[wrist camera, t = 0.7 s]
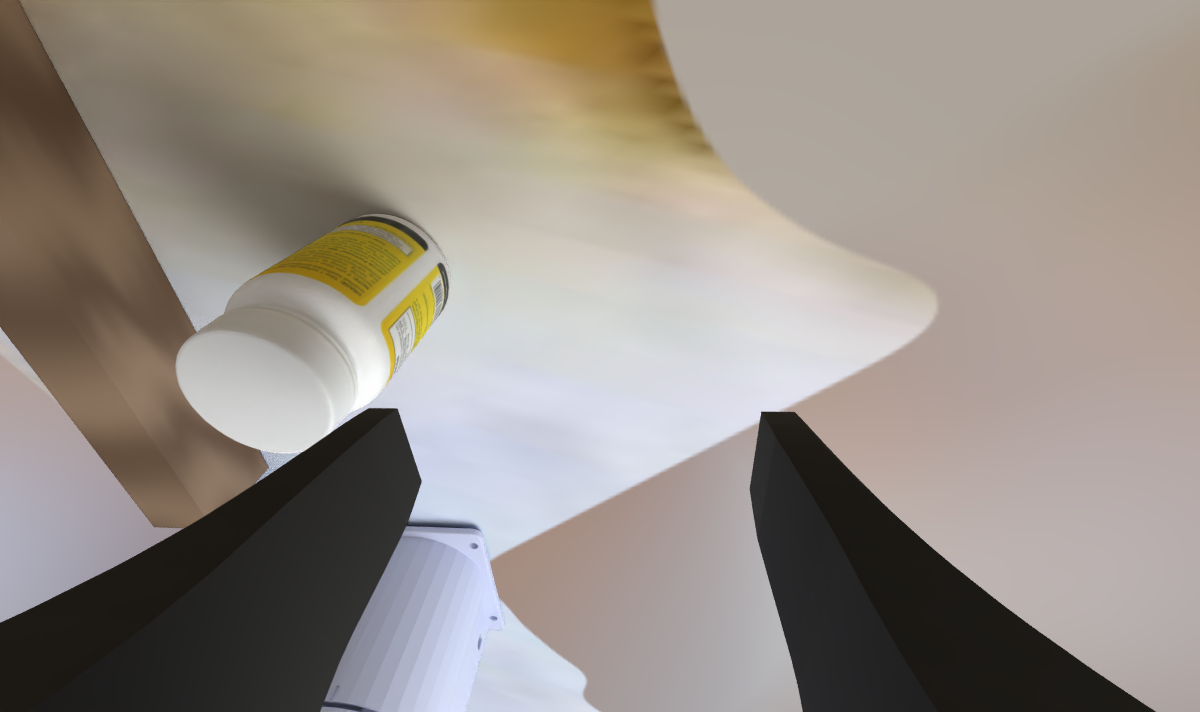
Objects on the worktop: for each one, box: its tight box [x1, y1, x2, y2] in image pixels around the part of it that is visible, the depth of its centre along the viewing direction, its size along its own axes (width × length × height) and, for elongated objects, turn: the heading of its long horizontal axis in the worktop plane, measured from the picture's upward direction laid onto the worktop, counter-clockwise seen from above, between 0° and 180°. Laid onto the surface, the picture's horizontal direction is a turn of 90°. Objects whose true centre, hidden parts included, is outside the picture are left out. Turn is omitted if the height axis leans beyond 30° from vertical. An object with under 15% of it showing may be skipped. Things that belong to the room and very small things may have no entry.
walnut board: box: [0, 0, 269, 528], centre depth 19 cm, size 22×3×4 cm, turn 2°
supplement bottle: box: [175, 214, 451, 453], centre depth 16 cm, size 5×5×8 cm
